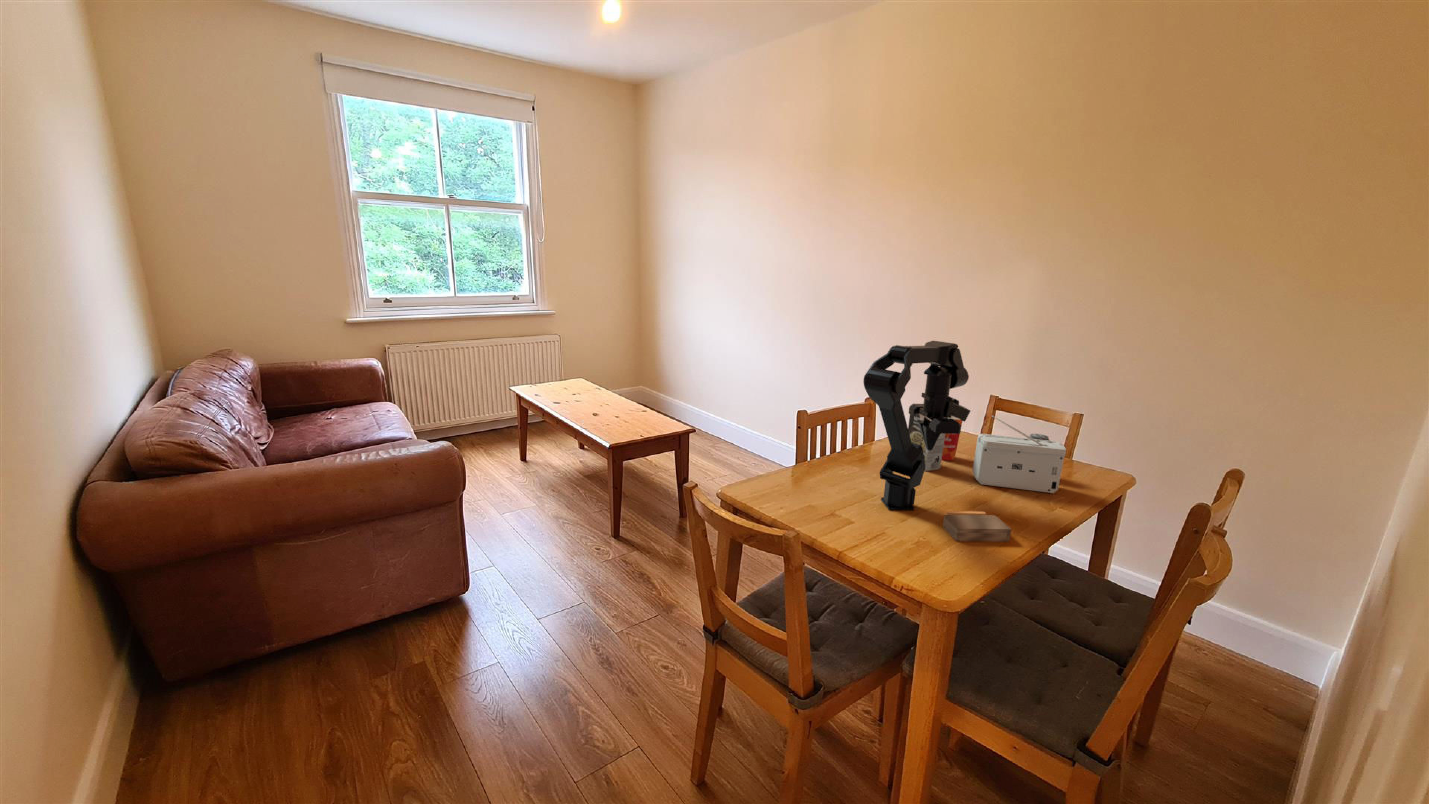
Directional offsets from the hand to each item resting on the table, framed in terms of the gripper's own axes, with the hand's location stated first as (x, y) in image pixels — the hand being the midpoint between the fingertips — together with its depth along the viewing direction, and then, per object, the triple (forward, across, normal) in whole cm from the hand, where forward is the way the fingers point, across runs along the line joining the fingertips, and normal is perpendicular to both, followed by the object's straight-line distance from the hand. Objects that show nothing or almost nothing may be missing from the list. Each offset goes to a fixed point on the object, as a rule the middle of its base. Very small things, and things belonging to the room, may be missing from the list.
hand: (929, 449), depth 148 cm
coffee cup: (+12, +28, -18) cm, 35 cm away
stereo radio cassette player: (+12, +6, -28) cm, 31 cm away
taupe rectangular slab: (+12, -23, -2) cm, 26 cm away
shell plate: (+12, -21, -3) cm, 24 cm away
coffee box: (+12, +21, -8) cm, 26 cm away
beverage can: (+12, +14, -38) cm, 42 cm away
